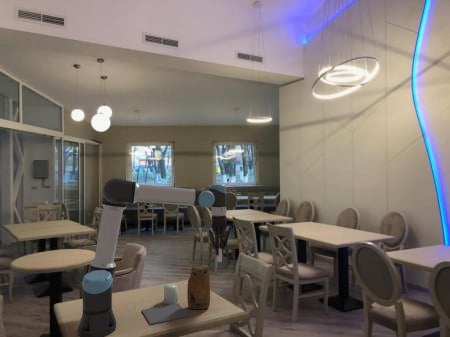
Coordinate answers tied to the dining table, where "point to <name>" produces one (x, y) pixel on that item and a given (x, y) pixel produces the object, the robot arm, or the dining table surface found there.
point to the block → (199, 287)
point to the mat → (164, 313)
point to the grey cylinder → (170, 293)
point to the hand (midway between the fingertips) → (219, 261)
